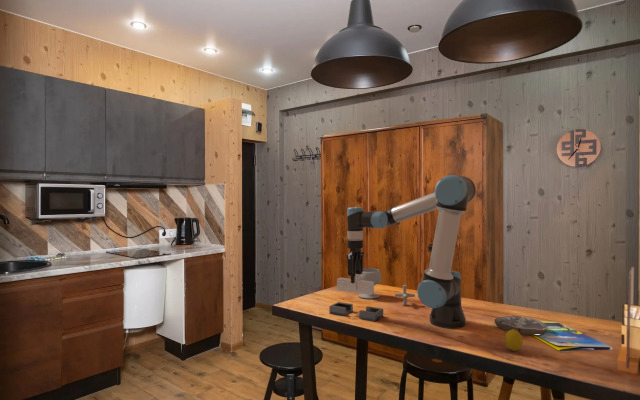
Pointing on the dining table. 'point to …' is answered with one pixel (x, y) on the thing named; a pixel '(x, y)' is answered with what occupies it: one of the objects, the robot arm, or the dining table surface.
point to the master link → (362, 286)
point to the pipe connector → (404, 295)
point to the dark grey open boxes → (369, 314)
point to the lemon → (513, 340)
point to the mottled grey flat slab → (521, 324)
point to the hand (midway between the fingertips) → (355, 288)
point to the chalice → (370, 275)
